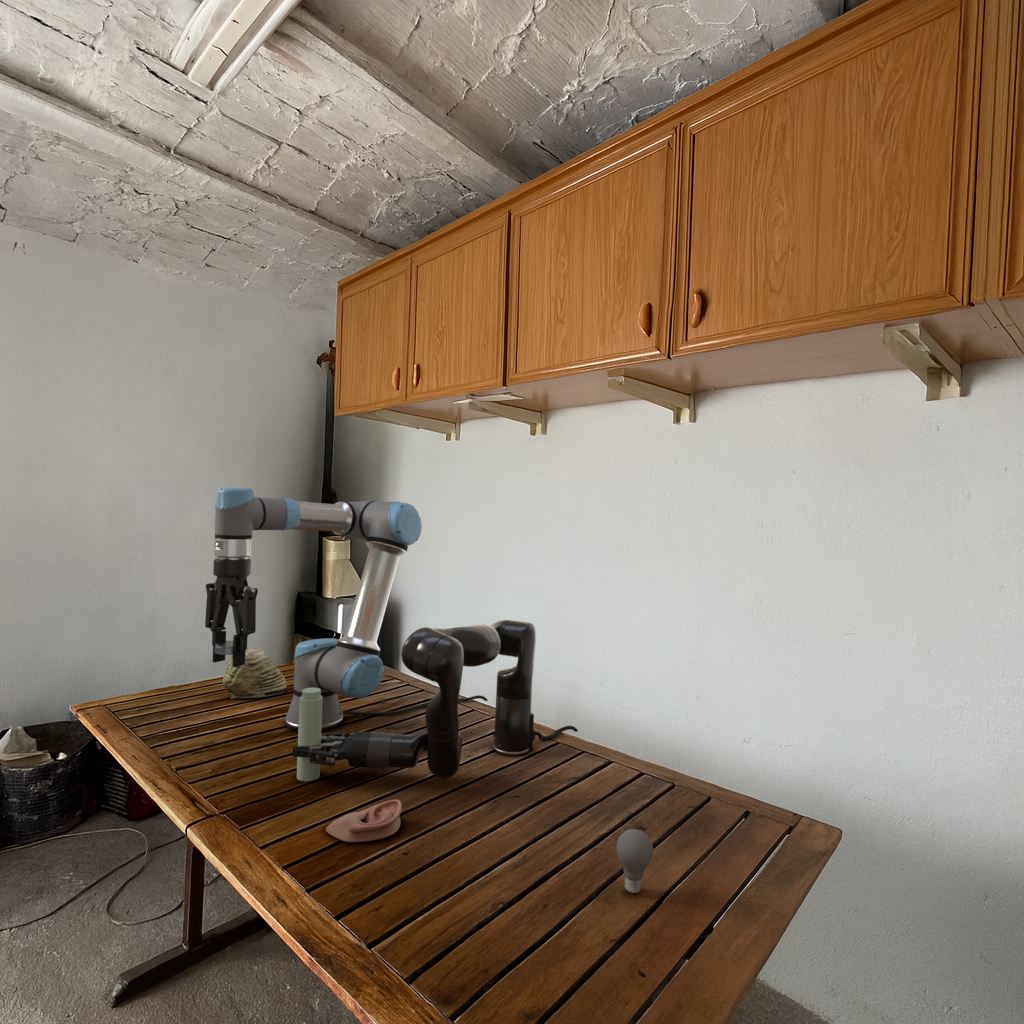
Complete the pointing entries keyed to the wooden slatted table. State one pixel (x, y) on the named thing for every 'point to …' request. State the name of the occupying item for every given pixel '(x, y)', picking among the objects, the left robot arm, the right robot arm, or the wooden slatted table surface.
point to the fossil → (254, 676)
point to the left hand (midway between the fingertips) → (228, 663)
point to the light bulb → (634, 857)
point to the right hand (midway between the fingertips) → (297, 746)
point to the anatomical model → (368, 823)
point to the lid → (224, 648)
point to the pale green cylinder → (309, 731)
